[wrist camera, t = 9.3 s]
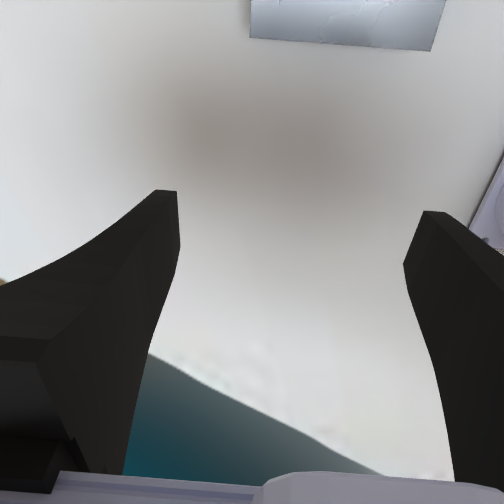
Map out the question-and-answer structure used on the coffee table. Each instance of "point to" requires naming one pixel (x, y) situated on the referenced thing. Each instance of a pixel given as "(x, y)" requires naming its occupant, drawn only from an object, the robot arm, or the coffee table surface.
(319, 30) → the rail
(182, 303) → the coffee table surface
